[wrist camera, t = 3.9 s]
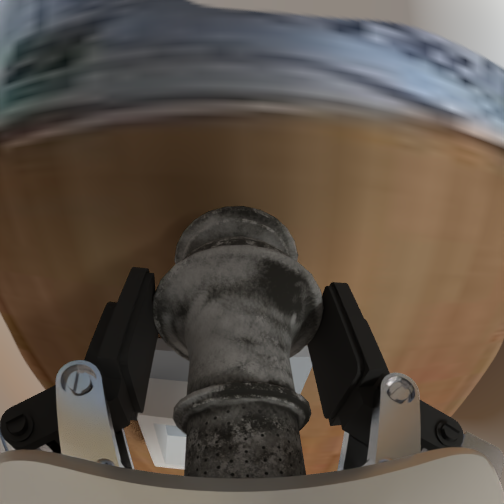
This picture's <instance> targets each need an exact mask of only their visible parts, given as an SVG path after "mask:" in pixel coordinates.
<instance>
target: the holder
mask: <svg viewBox="0 0 504 504" xmlns="http://www.w3.org/2000/svg"><path fill="white" fill-rule="evenodd" d="M289 359H290V364H291V370H292V376H293V381H294V387H295V392H296V393H298V394H300V393H301V391H302V389H303V387H304V384H305V382H306V380H307V377H308V375H309V373H310V370H311V368H312V362H311V358H310V354H309V350H308V346H305V347H304V348H303V349H302V350H301V351H300V352H299V353H297V354H295V355H294V356H292V357H291V358H289ZM189 363H190V361H188V360H186V359H184V358H183V357H181V356H179V355H178V354H177V353H176V352H175V351H173V350H172V349H171V348H170V347H169V346H168V345H167V344H166V343H165V342H164V340H163V339H162V338H158V339H157V343H156V348H155V353H154V358H153V363H152V368H151V373H150V379H149V384H148V389H147V395H146V401H145V407H144V411H143V413H138V416H137V420H138V423H139V425H140V428H141V431H142V434H143V437H144V439H145V442H146V445H147V447H148V450H149V452H150V455H151V457H152V460H153V462H154V465H155V466H158V467H166V468H176V469H185V451H186V434H184V433H183V432H182V431H181V430H180V429H179V428H178V427H177V426H176V424H175V422H174V420H173V411H174V407H175V405H176V404H177V403H178V402H179V400H180V399H182V398H184V397H185V396H186V395H187V384H188V373H189Z"/></svg>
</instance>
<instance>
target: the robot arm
mask: <svg viewBox="0 0 504 504" xmlns="http://www.w3.org/2000/svg"><path fill="white" fill-rule="evenodd" d="M154 294H155V279H154V273H149V269H148V268H138V267H132V269H131V271H130V273H129V276H128V278H127V280H126V283H125V285H124V287H123V290H122V292H121V295H120V297H119V300H118V302H117V303H115V302H108V303H107V305H106V307H105V309H104V311H103V314H102V316H101V318H100V321H99V323H98V326H97V328H96V331H95V333H94V336H93V338H92V341H91V343H90V346H89V349H88V351H87V354H86V356H85V359H84V360H76V361H72V362H69V363H67V364H65V365H64V366H63V367H62V368H61V369H60V370H59V372H58V374H57V376H56V385H55V386H53V387H51V388H49V389H47V390H45V391H43V392H41V393H39V394H37V395H35V396H33V397H31V398H29V399H27V400H25V401H23V402H21V403H19V404H17V405H15V406H13V407H11V408H9V409H8V410H6V411H5V413H4V414H3V415H2V418H1V421H0V504H504V491H503V488H502V485H501V483H500V479H501V474H502V470H503V464H504V456H503V453H502V452H501V450H500V449H499V448H498V447H496V446H494V445H492V444H490V443H488V442H486V441H484V440H482V439H480V438H478V437H476V436H474V435H472V434H470V433H468V432H465V433H464V434H463V430H462V428H461V426H460V425H459V423H458V422H456V421H455V420H454V419H453V418H451V417H449V416H447V415H446V414H444V413H442V412H440V411H439V410H437V409H435V408H433V407H432V406H430V405H428V404H426V403H425V402H423V401H421V400H420V399H419V390H418V387H417V385H416V384H415V382H414V381H413V380H412V379H411V378H409V377H408V376H406V375H404V374H401V373H391V374H390V373H389V371H388V368H387V366H386V363H385V361H384V359H383V356H382V354H381V352H380V350H379V347H378V345H377V343H376V340H375V338H374V336H373V334H372V331H371V329H370V327H369V325H368V323H367V321H366V320H365V319H364V318H363V315H362V313H361V311H360V309H359V307H358V305H357V303H356V300H355V298H354V296H353V294H352V292H351V290H350V288H349V286H348V284H347V283H336V282H332V283H331V284H330V286H326V287H325V289H324V292H323V295H322V300H323V306H324V310H323V315H322V319H321V323H320V326H319V328H318V330H317V332H316V334H315V335H314V337H313V339H312V340H311V341H310V342H309V343H308V344H307V346H308V350H309V354H310V358H311V362H312V366H313V371H314V375H315V379H316V383H317V388H318V392H319V396H320V401H321V405H322V409H323V414H324V417H325V418H326V419H328V418H329V422H330V426H335V425H341V426H342V430H344V431H345V432H344V438H343V444H342V450H341V455H340V460H339V465H338V470H337V471H334V472H328V473H320V474H311V475H302V476H291V477H276V478H246V479H235V478H204V477H189V476H178V475H169V474H161V473H153V472H146V471H140V470H134V466H133V463H132V459H131V456H130V452H129V448H128V444H127V441H126V437H125V432H124V428H125V427H126V426H128V425H130V420H136V421H137V416H138V413H143V411H144V407H145V401H146V395H147V389H148V384H149V379H150V373H151V368H152V363H153V358H154V353H155V348H156V343H157V339H158V331H157V330H156V327H155V323H154V318H153V296H154Z"/></svg>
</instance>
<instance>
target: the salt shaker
mask: <svg viewBox="0 0 504 504" xmlns="http://www.w3.org/2000/svg"><path fill="white" fill-rule="evenodd" d="M297 259H298V254H297V250H296V245H295V241H294V239H293V238H292V236H291V234H290V233H289V231H288V229H287V228H286V227H285V226H284V225H283V224H282V223H281V222H280V221H279V220H277V219H276V218H275V217H273V216H271V215H269V214H267V213H265V212H263V211H261V210H258V209H254V208H249V207H245V206H234V207H223V208H219V209H216V210H212V211H209V212H207V213H205V214H204V215H202V216H200V217H199V218H197V219H195V220H194V221H193V222H192V223H191V224H190V225H189V226H188V227H187V228H186V229H185V230H184V232H183V234H182V236H181V238H180V240H179V242H178V244H177V247H176V253H175V265H174V266H173V267H172V268H171V269H170V270H169V271H168V273H167V274H166V275H165V276H164V277H163V278H162V279H161V281H160V283H159V285H158V287H157V289H156V292H155V294H154V296H153V318H154V323H155V327H156V330H157V331H158V333H159V334H160V336H161V337H162V339H163V340H164V342H165V343H166V344H167V345H168V346H169V347H170V348H171V349H172V350H173V351H175V352H176V353H177V354H178V355H179V356H181V357H183V358H184V359H186V360H188V361H190V363H189V373H188V384H187V395H186V396H185V397H184V398H182V399H180V400H179V402H178V403H177V404H176V405H175V407H174V411H173V420H174V422H175V424H176V426H177V427H178V428H179V429H180V430H181V431H182V432H183V433H184V434H186V451H185V471H184V476H189V477H204V478H235V479H246V478H276V477H291V476H302V475H306V471H305V465H304V459H303V453H302V446H301V440H300V434H299V431H300V430H301V429H302V428H303V427H304V426H305V425H306V424H307V422H308V421H309V419H310V416H311V409H310V406H309V402H308V401H307V400H306V399H305V398H304V397H303V396H302V395H300V394H298V393H296V392H295V387H294V381H293V376H292V370H291V364H290V359H289V358H291V357H292V356H294V355H295V354H297V353H299V352H300V351H301V350H302V349H303V348H304V347H305V346H306V345H307V344H308V343H309V342H310V341H311V340H312V339H313V337H314V335H315V334H316V332H317V330H318V328H319V326H320V323H321V319H322V315H323V310H324V306H323V300H322V294H321V290H320V288H319V286H318V285H317V283H316V281H315V280H314V278H313V276H312V274H311V273H310V272H309V271H307V270H306V269H305V268H304V267H303V266H302V265H301V264H299V263H298V262H297Z"/></svg>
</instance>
